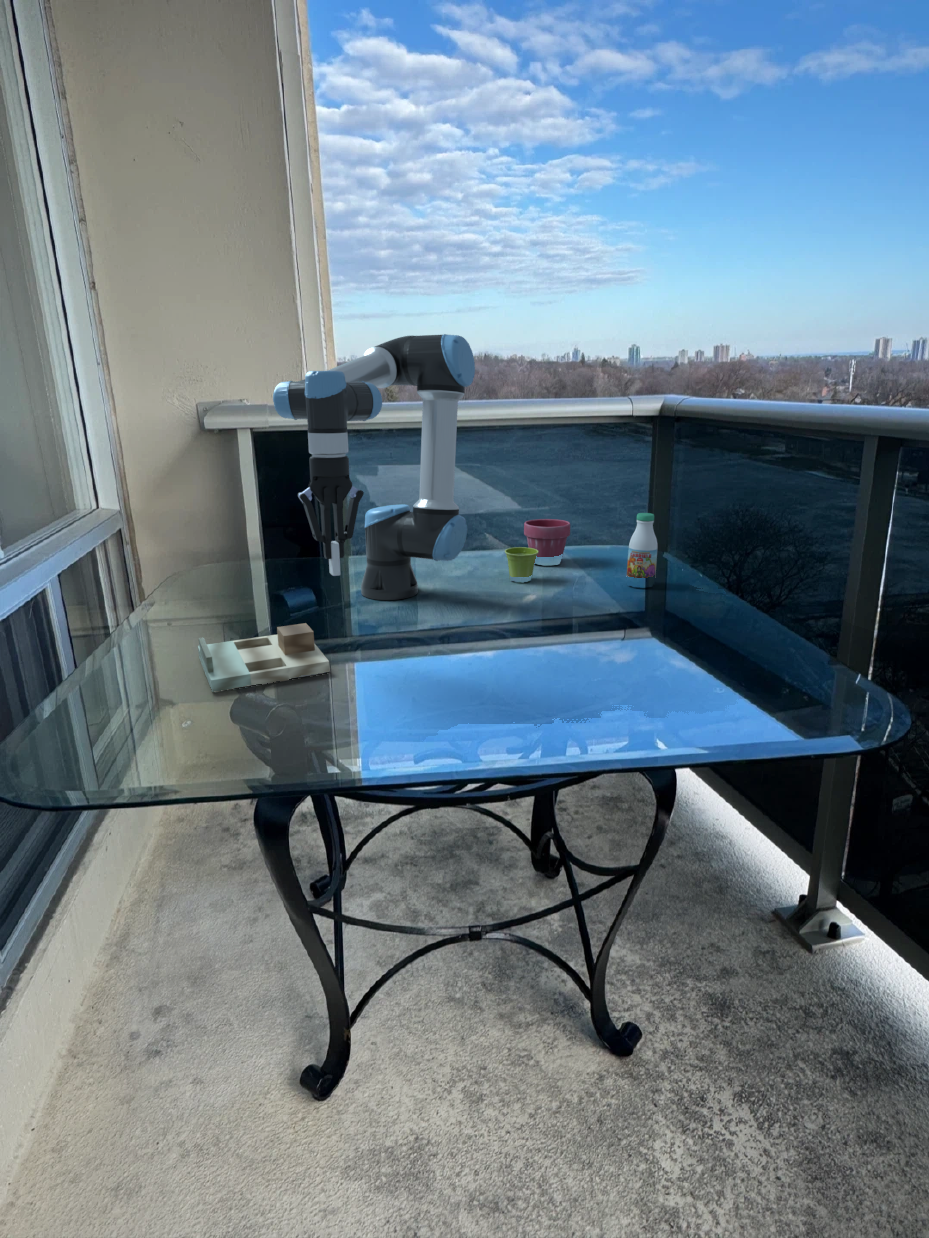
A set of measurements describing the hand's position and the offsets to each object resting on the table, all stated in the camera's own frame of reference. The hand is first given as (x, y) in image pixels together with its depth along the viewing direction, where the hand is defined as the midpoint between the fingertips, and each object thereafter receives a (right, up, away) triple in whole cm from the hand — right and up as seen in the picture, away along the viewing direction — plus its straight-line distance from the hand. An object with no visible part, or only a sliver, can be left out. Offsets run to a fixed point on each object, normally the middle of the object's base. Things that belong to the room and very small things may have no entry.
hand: (335, 573), depth 149 cm
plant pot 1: (+42, +2, +60) cm, 73 cm away
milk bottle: (+75, 0, +55) cm, 93 cm away
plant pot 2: (+51, +8, +80) cm, 95 cm away
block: (-8, -15, +1) cm, 17 cm away
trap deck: (-14, -18, -1) cm, 23 cm away
